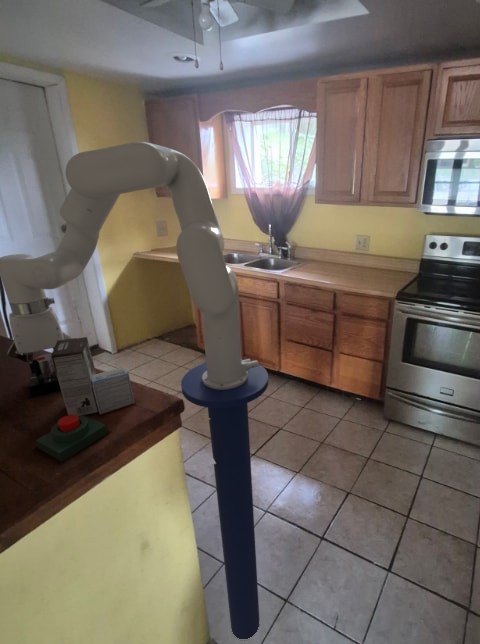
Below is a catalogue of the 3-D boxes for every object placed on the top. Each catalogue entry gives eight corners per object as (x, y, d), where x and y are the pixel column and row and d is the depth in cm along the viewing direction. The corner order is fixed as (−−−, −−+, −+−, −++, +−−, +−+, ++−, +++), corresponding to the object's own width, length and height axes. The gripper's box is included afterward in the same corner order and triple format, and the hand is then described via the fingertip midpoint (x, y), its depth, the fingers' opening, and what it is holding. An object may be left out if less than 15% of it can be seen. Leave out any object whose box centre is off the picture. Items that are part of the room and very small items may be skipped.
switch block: (84, 422, 84) (80, 407, 82) (107, 433, 80) (104, 418, 79) (38, 448, 76) (33, 432, 74) (62, 462, 72) (57, 445, 71)
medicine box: (130, 396, 94) (124, 365, 91) (135, 404, 91) (129, 372, 87) (96, 406, 90) (88, 375, 86) (100, 415, 86) (91, 382, 83)
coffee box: (73, 399, 93) (56, 339, 86) (101, 393, 95) (87, 335, 89) (67, 418, 85) (49, 355, 79) (99, 412, 87) (83, 350, 81)
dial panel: (71, 373, 105) (69, 363, 103) (73, 387, 98) (70, 377, 96) (33, 381, 100) (30, 371, 99) (32, 397, 93) (28, 386, 92)
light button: (73, 419, 79) (71, 412, 78) (83, 424, 77) (81, 417, 77) (56, 428, 76) (53, 421, 75) (66, 434, 74) (64, 427, 74)
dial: (58, 368, 101) (53, 351, 98) (60, 375, 97) (55, 357, 95) (39, 373, 98) (34, 355, 96) (40, 380, 95) (35, 362, 93)
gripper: (67, 296, 98) (83, 358, 105) (-14, 308, 88) (9, 375, 96) (71, 304, 92) (87, 368, 99) (-15, 317, 83) (10, 388, 90)
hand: (49, 371), depth 97 cm, fingers closed on dial, 4 cm apart
